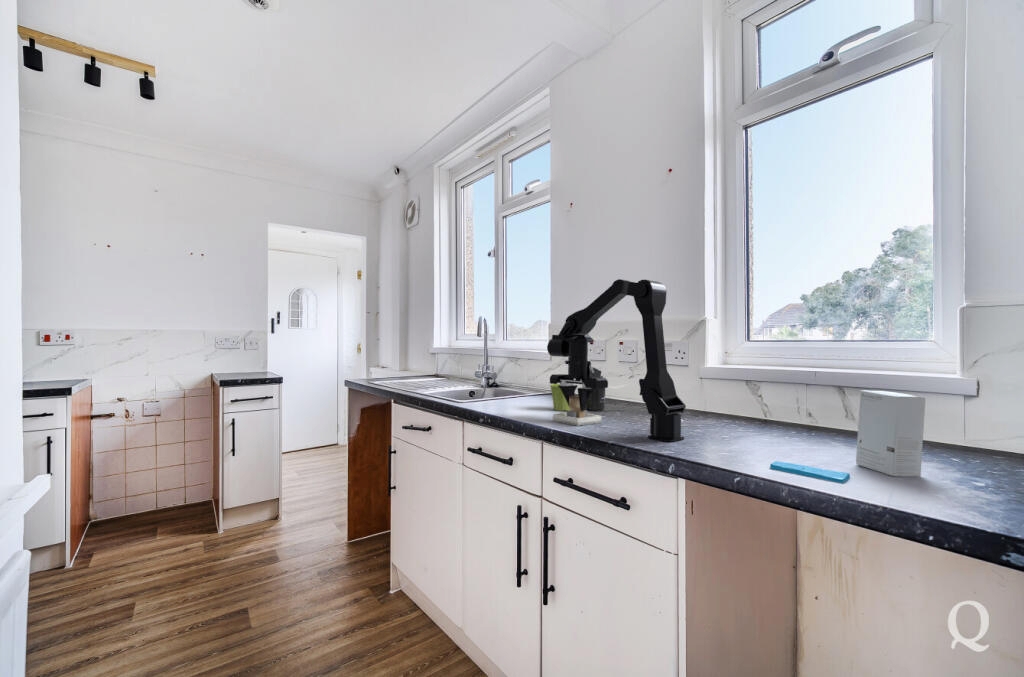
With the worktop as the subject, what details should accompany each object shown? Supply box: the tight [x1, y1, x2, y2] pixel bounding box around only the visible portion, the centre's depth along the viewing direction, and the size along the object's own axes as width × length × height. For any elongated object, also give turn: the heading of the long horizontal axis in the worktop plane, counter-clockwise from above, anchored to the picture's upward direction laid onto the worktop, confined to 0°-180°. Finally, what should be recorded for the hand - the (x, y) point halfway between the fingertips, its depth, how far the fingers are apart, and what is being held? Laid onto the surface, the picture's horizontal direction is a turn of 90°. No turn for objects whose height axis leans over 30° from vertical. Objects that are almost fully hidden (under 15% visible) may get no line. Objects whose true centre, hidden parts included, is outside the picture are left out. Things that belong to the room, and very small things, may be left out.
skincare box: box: [855, 389, 926, 478], centre depth 85 cm, size 8×6×15 cm
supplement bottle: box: [585, 375, 606, 412], centre depth 157 cm, size 7×7×12 cm
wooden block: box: [569, 395, 585, 418], centre depth 133 cm, size 4×2×6 cm, turn 40°
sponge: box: [769, 461, 851, 484], centre depth 83 cm, size 2×12×6 cm
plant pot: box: [549, 383, 569, 412], centre depth 156 cm, size 9×9×9 cm
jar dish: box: [552, 409, 602, 427], centre depth 133 cm, size 10×10×3 cm
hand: (577, 410), depth 133 cm, fingers closed on wooden block, 4 cm apart
